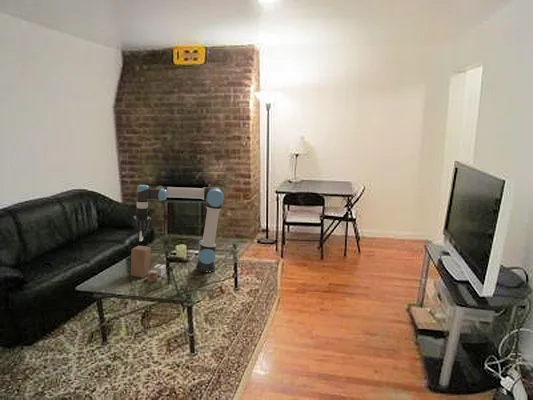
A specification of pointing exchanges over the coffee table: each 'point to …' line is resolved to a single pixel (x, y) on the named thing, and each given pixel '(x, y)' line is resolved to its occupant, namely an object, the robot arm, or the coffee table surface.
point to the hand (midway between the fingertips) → (141, 240)
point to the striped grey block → (160, 269)
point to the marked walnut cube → (152, 275)
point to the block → (140, 261)
